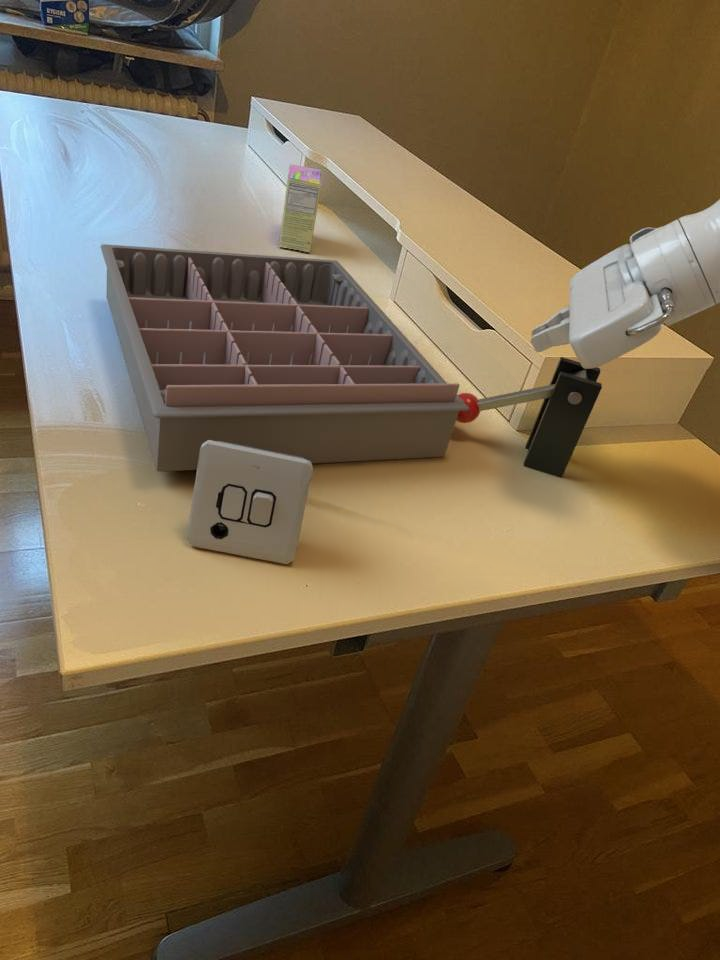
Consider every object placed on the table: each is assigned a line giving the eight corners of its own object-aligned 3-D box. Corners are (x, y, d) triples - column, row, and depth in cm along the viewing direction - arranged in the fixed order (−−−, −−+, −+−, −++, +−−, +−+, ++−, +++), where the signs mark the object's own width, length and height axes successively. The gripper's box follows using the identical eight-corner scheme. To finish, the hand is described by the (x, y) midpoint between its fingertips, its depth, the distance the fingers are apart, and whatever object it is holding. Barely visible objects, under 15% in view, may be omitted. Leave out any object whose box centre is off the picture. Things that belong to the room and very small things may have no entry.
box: (280, 229, 136) (290, 163, 130) (311, 235, 137) (322, 169, 130) (277, 248, 128) (287, 177, 121) (309, 254, 129) (321, 184, 122)
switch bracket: (485, 476, 81) (523, 374, 74) (492, 434, 90) (527, 338, 82) (591, 509, 80) (640, 408, 73) (589, 463, 89) (633, 369, 82)
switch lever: (452, 430, 83) (444, 404, 82) (456, 417, 86) (448, 391, 84) (591, 404, 78) (585, 375, 76) (590, 391, 81) (584, 362, 79)
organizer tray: (327, 312, 109) (340, 246, 104) (450, 471, 81) (476, 391, 75) (99, 303, 96) (100, 227, 91) (149, 489, 68) (154, 395, 62)
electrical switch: (183, 547, 62) (195, 451, 58) (197, 515, 67) (209, 424, 62) (293, 568, 63) (312, 475, 59) (299, 535, 68) (318, 446, 63)
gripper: (693, 344, 64) (544, 409, 70) (667, 275, 80) (549, 332, 87) (663, 280, 61) (513, 353, 68) (643, 223, 78) (524, 286, 85)
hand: (533, 341), depth 77 cm, fingers closed
